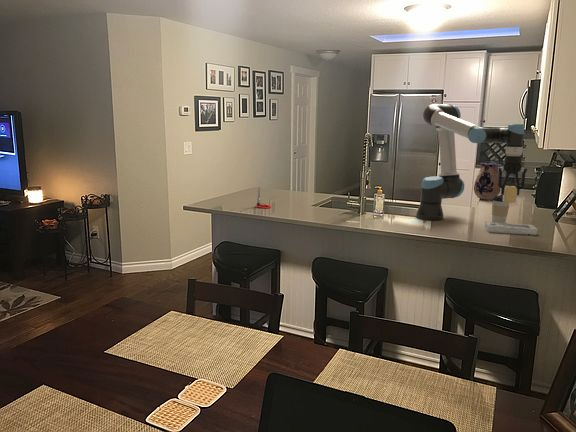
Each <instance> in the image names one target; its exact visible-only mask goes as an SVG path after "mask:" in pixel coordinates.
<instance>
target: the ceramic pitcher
mask: <svg viewBox="0 0 576 432" xmlns="http://www.w3.org/2000/svg"><path fill="white" fill-rule="evenodd" d="M479 165H480V169H479V171H478V174H477V176H476V179H475V180H474V184H473V192H474V194H475V196H476V197H477V198H478V199H479V200H486V201H491V200H492V199H493V198H494V197H495V196H499V195H500V194H501V188H500V187H498V175H499V171H498V168H499V166H500V164H499V163H495V162H481V163H479ZM492 201H493V200H492Z"/></svg>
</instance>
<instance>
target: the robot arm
mask: <svg viewBox="0 0 576 432" xmlns="http://www.w3.org/2000/svg"><path fill="white" fill-rule="evenodd" d="M422 113H423V115H422V117H423V121H424V122H425V123H426V124H428V125H430V126H432V127H435V130H436V131H438V145H439V160H440V161H439V162H440V173H439V175H437V176H436V175H435V176H433V175H432V176H426V177H424V178H423V179H422V181H421V185H420V188H421V189H420V202H419V206H418V208H417V210H416V213H415V217H416V218H418V219H420V220H424V221H425V220H426V221H441V220H443V219H444V212H443V207H442V200H445V199H455V198H458V197H460V196H461V195H462V194H463V193H464V190H465V181H464V180H463V179H462V178H461V177H460V173H459V172H457V160H456V159H457V157H456V140H455V134H457V135H459V136H461V137H464V138H466V139H468V141H469V142H470V143H473V144H488V143H489V144H493V143H496V144H497V143H500V144H501V143H503V144H506V145H505V146H506V147H505V156H504V164H503V166H500V167H498V168H497V171H498V187H500V188H501V189H500V195H503V202H505V195H506V189H505V186H507V182H508V180H509V177H510V175H514V181H515V187H516V197H515V203H517V198H518V196H519V195H520V191H521V189H524V188H525V182H526V181H525V180H526V173H527V171H528V168H525V167H523V166H522V158H523V157H522V155H523V148H524V147H523V145H524V139H525V138H524V136H525V125H524V124H522V123H509V124H508V125H507V127H482V126H479V125H477V124H474V123H472V122H470V121H466V120H463V119H461V111H460V109H459V107H457V106H456V105H454V104H451V103H450V104H449V103H446V104H445V103H443V104H442V103H432V104H429V105H428V106H427V107H425V108H424V111H423V112H422ZM503 171H505V176H504V178H503ZM520 171H521V177H520V181H519V172H520ZM502 178H503V179H502ZM502 180H503V181H502Z"/></svg>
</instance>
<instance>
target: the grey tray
mask: <svg viewBox="0 0 576 432" xmlns="http://www.w3.org/2000/svg"><path fill="white" fill-rule="evenodd" d="M484 228H485V230H486V231H487V233H499V234H500V233H501V234H512V235H513V234H515V235H528V234H530V236H537V235H538V228H536V227H535V226H534V225H533V224H528V223H527V224H525V223H524V224H523V223H509V222H508V223H507V222H506V223H493V222H492V221H491V222H489V221H485V222H484Z"/></svg>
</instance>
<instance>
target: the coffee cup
mask: <svg viewBox="0 0 576 432" xmlns="http://www.w3.org/2000/svg"><path fill="white" fill-rule="evenodd" d="M509 209H510V203H505V202H503V195H501V194H498V196H495V197H494V198H493V199H492V205H491V211H492V212H491V222H493V223H507V222H506V221H507V217H508V213H509Z"/></svg>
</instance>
